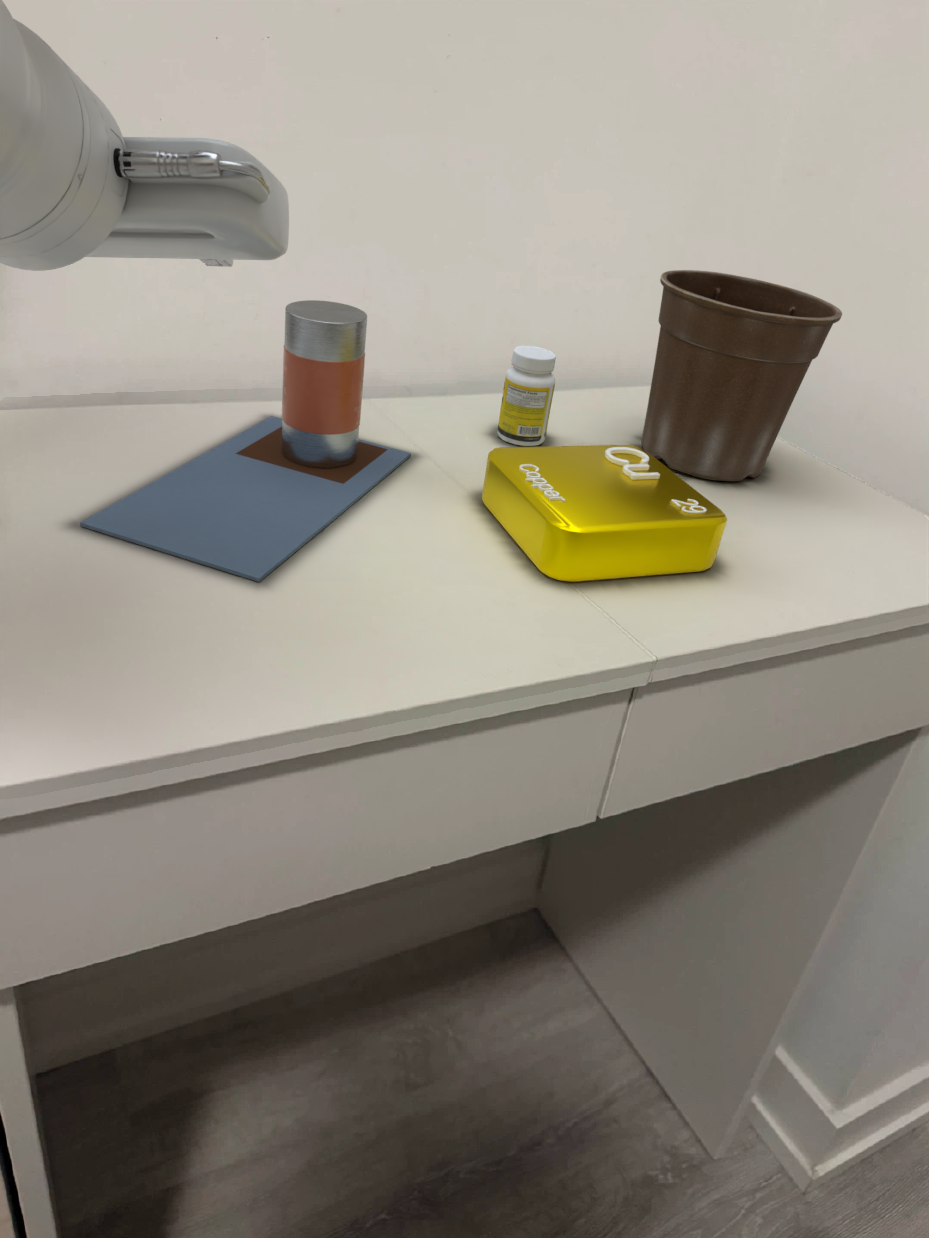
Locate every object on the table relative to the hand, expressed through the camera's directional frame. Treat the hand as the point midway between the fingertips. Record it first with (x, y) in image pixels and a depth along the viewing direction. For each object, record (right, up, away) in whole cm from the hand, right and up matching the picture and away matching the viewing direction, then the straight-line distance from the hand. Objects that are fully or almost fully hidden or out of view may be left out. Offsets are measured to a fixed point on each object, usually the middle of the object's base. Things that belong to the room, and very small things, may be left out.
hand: (142, 251), depth 54 cm
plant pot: (+43, -6, +37) cm, 57 cm away
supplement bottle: (+24, -4, +35) cm, 43 cm away
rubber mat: (+3, -11, +18) cm, 22 cm away
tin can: (+7, -7, +25) cm, 26 cm away
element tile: (+29, -15, +20) cm, 38 cm away
